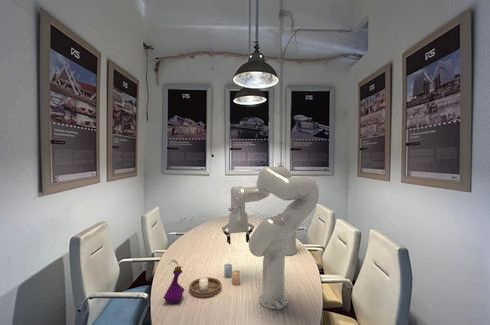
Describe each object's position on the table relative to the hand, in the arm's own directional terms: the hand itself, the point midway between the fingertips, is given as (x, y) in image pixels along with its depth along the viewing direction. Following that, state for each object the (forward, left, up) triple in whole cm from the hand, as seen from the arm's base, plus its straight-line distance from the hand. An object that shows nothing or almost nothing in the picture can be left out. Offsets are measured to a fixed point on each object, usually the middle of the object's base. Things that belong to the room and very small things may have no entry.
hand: (238, 242), depth 134 cm
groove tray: (-7, +18, -19) cm, 27 cm away
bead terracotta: (-5, +3, -19) cm, 20 cm away
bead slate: (+4, +5, -19) cm, 20 cm away
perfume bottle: (-12, +33, -19) cm, 40 cm away
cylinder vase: (+27, -40, -19) cm, 52 cm away
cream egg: (-10, +19, -18) cm, 28 cm away
